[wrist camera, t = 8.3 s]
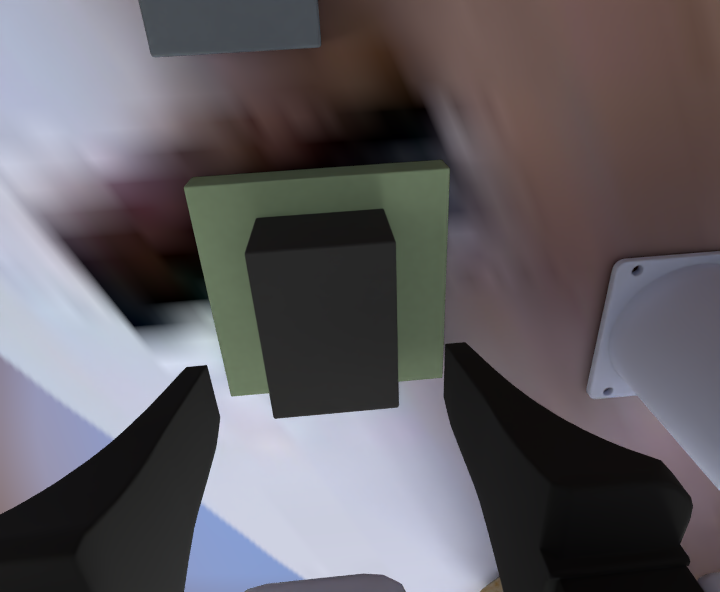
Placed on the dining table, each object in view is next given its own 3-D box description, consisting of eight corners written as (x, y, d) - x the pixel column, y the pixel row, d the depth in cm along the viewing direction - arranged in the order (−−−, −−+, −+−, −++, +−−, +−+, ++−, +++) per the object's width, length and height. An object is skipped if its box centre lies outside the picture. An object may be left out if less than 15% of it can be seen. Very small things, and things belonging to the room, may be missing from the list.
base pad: (442, 159, 20) (450, 167, 19) (436, 360, 25) (442, 377, 24) (191, 176, 20) (182, 187, 18) (235, 378, 24) (230, 397, 23)
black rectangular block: (384, 207, 19) (396, 240, 16) (388, 358, 23) (399, 408, 20) (255, 217, 19) (243, 252, 16) (279, 367, 23) (273, 419, 20)
